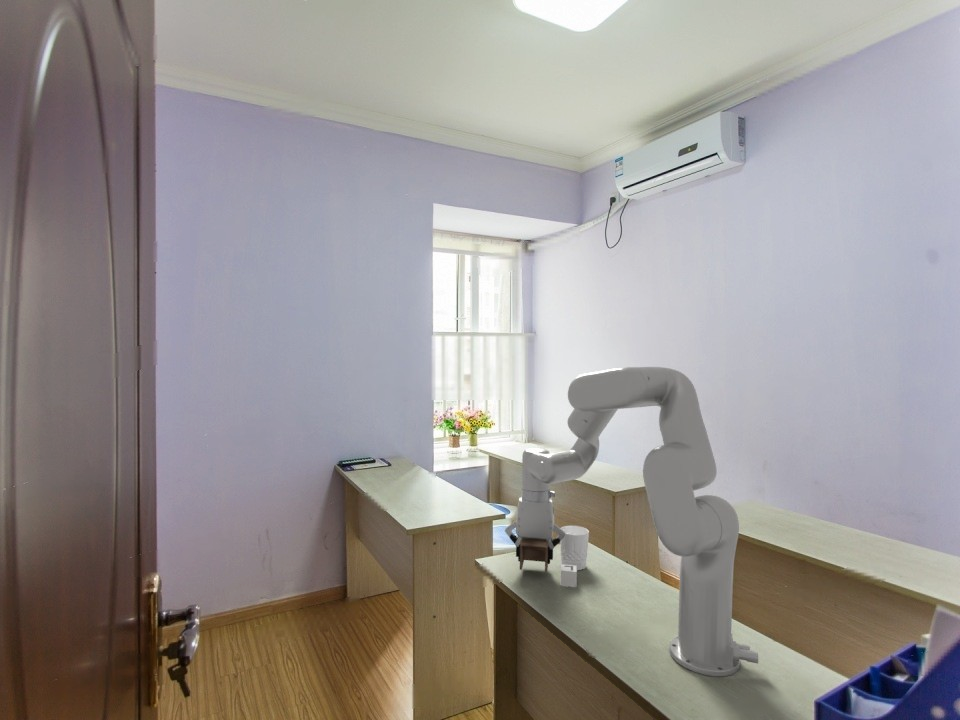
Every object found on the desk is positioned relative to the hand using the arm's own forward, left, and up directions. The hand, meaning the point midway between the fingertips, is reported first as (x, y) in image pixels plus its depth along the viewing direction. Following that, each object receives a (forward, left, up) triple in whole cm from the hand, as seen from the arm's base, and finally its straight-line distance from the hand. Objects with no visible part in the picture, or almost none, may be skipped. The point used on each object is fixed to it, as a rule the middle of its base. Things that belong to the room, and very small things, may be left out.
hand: (534, 560), depth 142 cm
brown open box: (0, 0, -1) cm, 1 cm away
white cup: (-9, -9, -3) cm, 13 cm away
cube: (-10, +2, -3) cm, 11 cm away
